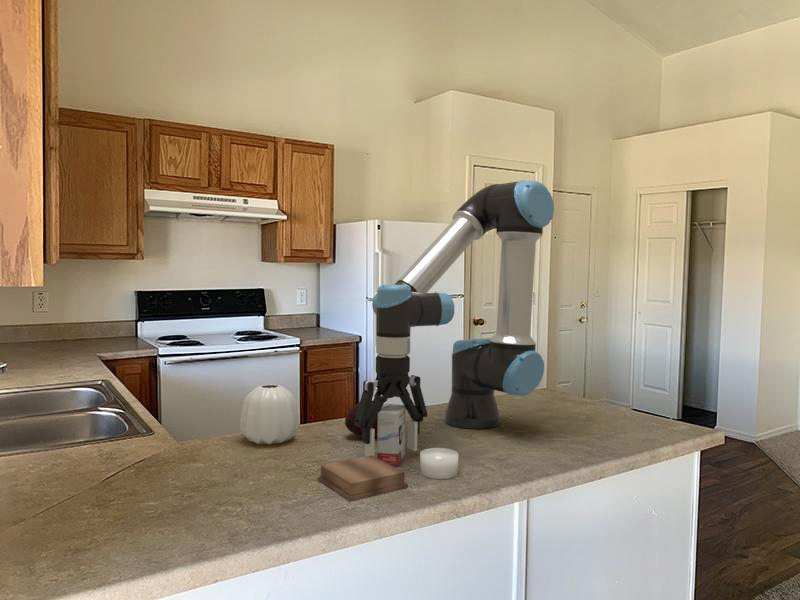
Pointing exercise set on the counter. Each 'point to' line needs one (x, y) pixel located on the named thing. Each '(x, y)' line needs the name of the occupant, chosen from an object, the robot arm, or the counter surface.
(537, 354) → the robot arm
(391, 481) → the podium
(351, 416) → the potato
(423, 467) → the white dome button
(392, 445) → the ink box
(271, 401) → the vase
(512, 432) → the counter surface
